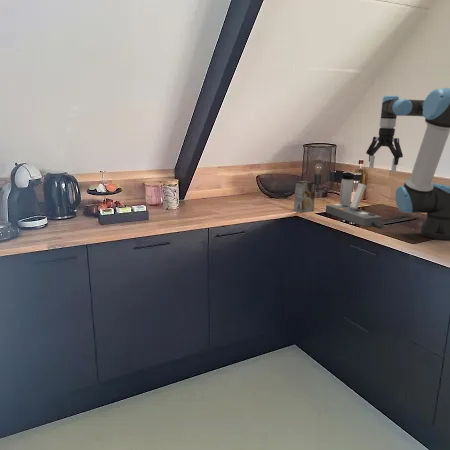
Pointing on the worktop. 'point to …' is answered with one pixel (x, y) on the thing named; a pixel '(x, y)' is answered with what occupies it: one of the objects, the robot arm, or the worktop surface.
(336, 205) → the power strip
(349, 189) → the travel mug
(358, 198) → the middle rocker lever
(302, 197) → the coffee box
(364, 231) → the worktop surface
